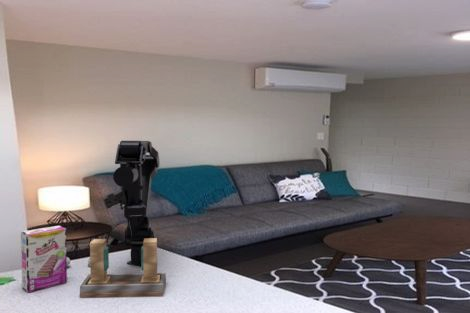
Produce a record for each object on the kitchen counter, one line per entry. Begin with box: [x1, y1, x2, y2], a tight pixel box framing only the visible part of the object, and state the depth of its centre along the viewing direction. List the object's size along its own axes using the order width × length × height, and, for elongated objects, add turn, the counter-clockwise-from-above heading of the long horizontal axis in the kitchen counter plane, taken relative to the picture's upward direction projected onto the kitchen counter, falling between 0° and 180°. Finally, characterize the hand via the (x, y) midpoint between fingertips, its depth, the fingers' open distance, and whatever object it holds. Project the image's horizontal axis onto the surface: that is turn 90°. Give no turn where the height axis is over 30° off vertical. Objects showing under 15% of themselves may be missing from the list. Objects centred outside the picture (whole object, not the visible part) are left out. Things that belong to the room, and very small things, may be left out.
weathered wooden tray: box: [79, 238, 167, 299], centre depth 121 cm, size 22×10×14 cm, turn 94°
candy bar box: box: [20, 225, 68, 293], centre depth 123 cm, size 11×5×16 cm, turn 134°
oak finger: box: [140, 237, 160, 284], centre depth 122 cm, size 5×5×13 cm
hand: (132, 233), depth 132 cm, fingers open, 9 cm apart
